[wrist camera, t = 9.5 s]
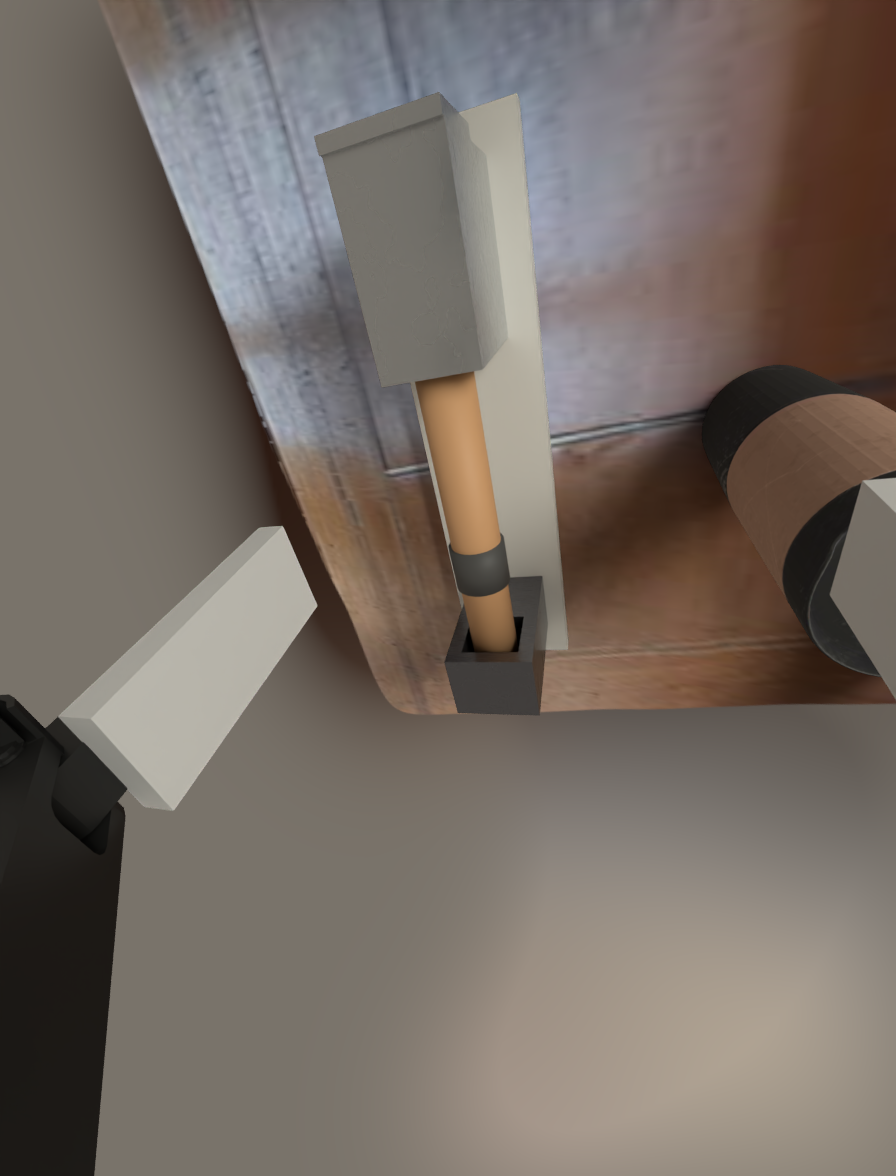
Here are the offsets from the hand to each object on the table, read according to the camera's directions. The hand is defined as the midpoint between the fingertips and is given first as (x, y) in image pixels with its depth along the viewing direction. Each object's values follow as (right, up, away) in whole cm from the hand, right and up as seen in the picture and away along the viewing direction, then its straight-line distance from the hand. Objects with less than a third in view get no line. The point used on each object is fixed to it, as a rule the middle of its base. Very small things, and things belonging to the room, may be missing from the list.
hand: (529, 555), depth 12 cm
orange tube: (0, +4, +21) cm, 21 cm away
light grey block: (-2, +19, +18) cm, 26 cm away
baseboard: (+1, +10, +25) cm, 27 cm away
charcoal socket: (+3, -2, +31) cm, 31 cm away
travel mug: (+19, +10, +20) cm, 29 cm away
